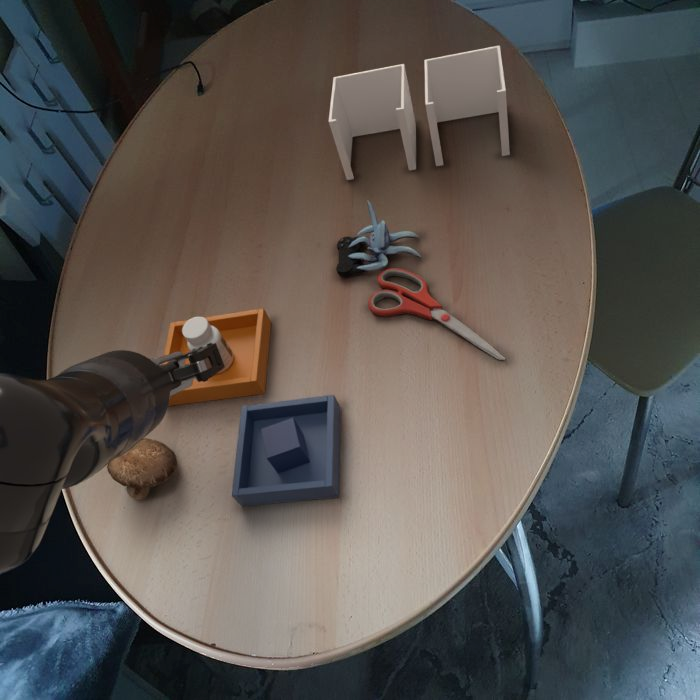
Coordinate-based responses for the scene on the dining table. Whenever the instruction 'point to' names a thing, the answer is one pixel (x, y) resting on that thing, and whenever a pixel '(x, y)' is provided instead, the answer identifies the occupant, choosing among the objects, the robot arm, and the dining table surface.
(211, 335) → the pill bottle
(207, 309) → the dining table surface
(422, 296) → the scissors
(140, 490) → the mushroom
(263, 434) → the blue block
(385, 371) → the dining table surface
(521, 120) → the dining table surface
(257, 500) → the blue tray
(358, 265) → the figurine
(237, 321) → the amber tray
